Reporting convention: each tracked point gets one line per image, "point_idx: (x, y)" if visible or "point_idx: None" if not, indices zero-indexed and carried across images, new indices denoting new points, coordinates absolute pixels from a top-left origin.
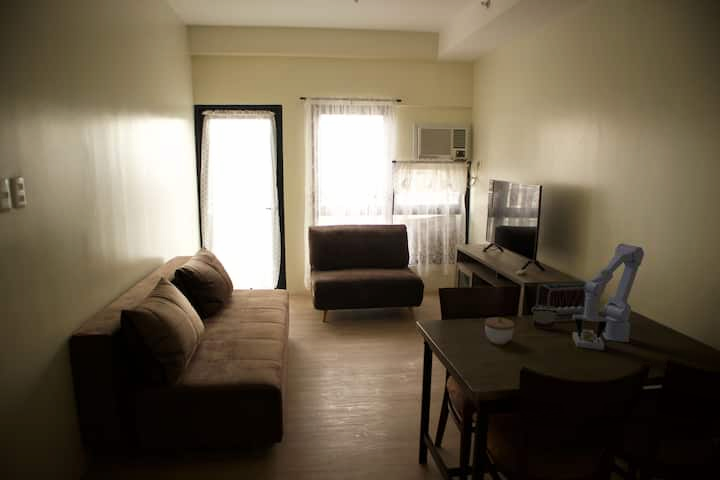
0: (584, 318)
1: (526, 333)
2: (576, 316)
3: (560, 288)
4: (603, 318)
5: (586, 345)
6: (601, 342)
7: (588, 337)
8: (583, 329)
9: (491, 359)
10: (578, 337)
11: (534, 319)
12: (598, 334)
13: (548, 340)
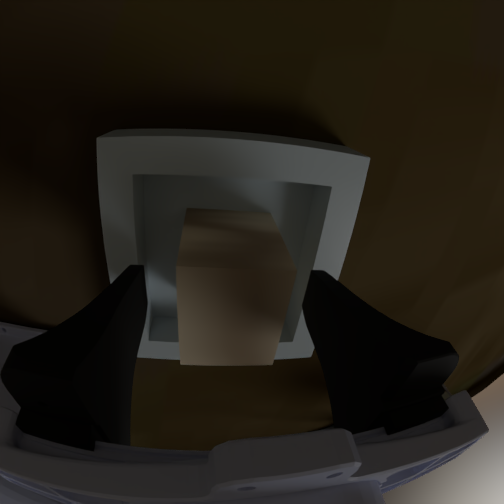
0: (405, 455)
1: (490, 294)
2: (468, 440)
3: None
4: (46, 490)
5: (275, 138)
6: (114, 200)
7: (243, 243)
8: (269, 363)
9: None
10: (315, 269)
11: (445, 393)
12: (128, 283)
13: (462, 236)
